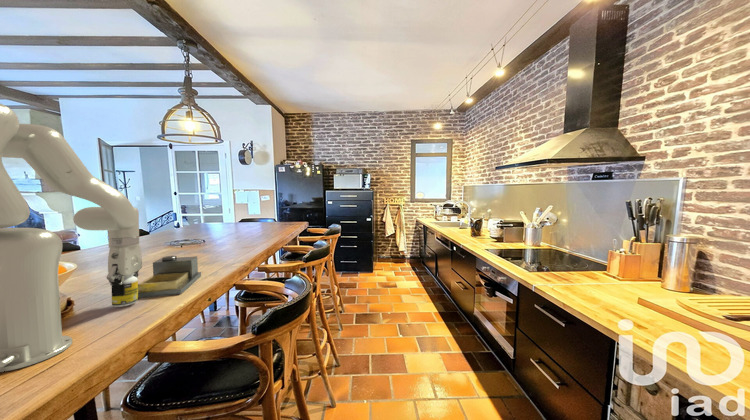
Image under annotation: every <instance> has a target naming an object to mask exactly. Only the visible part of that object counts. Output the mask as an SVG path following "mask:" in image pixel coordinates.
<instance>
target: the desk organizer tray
mask: <svg viewBox="0 0 750 420" xmlns="http://www.w3.org/2000/svg"><path fill="white" fill-rule="evenodd" d="M152 272H153V274H152V276H150V277H148V278H147V279H145V280H143V281H142V282H140V283H138V299H146V298H155V297H166V296H167V297H169V296H177V295H178V296H179V295H182V294H183V293H184V292H186V290H188V289H189V288H190V287H191V286H192V285H193V284H194V283H195V282H197V281H198V280H199V279H200V278H202V272H201V271H199V266H198V256H184V257H181V256H180V257H178V256H177V255H168V256H163V257H160V259H157V260H155V261H153V262H152Z"/></svg>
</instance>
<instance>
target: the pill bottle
mask: <svg viewBox="0 0 750 420" xmlns="http://www.w3.org/2000/svg"><path fill="white" fill-rule="evenodd" d="M117 275H121V274H117ZM133 275H134V273H132V274H130V275H128V276H125V277H124V281H123V284H125V295H123V296H114V297H113V296H112V295H111V306H113V307H114V308H120V307H121V308H122V307H127V306H131V305H133V304H136V303H137V302H138V301H139V298H138V284H139V280H138V279H139V277H138V278H137V277H135V276H133ZM116 278H118V279H119V280H120V277H116Z"/></svg>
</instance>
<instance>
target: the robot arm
mask: <svg viewBox="0 0 750 420" xmlns="http://www.w3.org/2000/svg"><path fill="white" fill-rule="evenodd" d="M3 158H13V159H23V160H24V161H25V162H26V163H27V164H28V165H29V166H30V168H31V169H32V170H34V172H35V173H36V174H37V175H38V176H39V177H40V178H41V179H42V180H43V182H44V183H45V184H46V185H47V187H49V188H50V189H52V190H54V191H56V192H59V193H62V194H65V195H69V196H72V197H76V198H79V199H83V200H86V201H89V202H91V203H93V204H94V205H95V204H96V205H97V206H90V207H84V208H82V209H79V210H78V211H76V212H75V214H74V215H73V218H72V219H73V221H72V222H73V223H74V224H75V226H76V227H77V228H80V229H83V230H85V231H107V232H108V233H107V237H108V248H109V250H108V259H107V272H108V273H107V275H106V279H107V280H108V282H109V283H110V286H111V297H112V296H113V297H114V296H123V295H125V284H123V281H124V277H125V276H128V275H130V274H132V273H134V275H133V276H135V277H137V278H138V279H139V271H140V270H142V268H143V260H142V259H143V258H142V250H141V247H140V246H141V245H140V219H139V218H140V216H139V215H140V213H139V209H138V208H137V207H135V206H133V205H132V203H131V201H130V200H129V199H128V197H127V196H125V194H123V193H122V192H121V191H119V190H118V189H116V188H115V187H113V186H112V185H109V184H108V183H106V182H105V181H103V180H101V179H99V178H97V177H95V176H94V175H93V174H92V173H91V172H90V171H89V169H88V168H87V167H86V166H85V165H86V164H84V162H83V161H82V160H81V159H80V157H79V156H78V155H77V153H76V152H75V151H74V149H73V148H72V147H71V145H70V144H69V143H68V141H67V140H66V139H65V137H64V136H63V135H62V134H61V133H60V132H59V131H58V130H56V129H54V128H53V127H49V126H46V125H41V124H33V123H20V120H19V117H18V115H17V114H16V113H15V111H14V110H13V109H11V108H10V107H8V106H6V105H5V104H3V103H0V373H4V371H5V372H9V371H14V370H18V369H22V368H25V367H29V366H31V365H34V364H38V363H40V362H43V361H46V360H48V359H50V358H52V357H55V356H56V355H59V354H61V353H62V352H64V351H66V350H67V349H68V348H69V347H70V346H71V345H72V344H73V338H72V336H69V335H63V329H62V328H63V327H62V314H61V313H62V312H61V298H60V297H61V296H60V286H59V267H60V260H61V257H62V253H63V241H62V239H61V237H60V236H59V235H58V234H56V233H54V232H53V231H51V230H47V229H43V228H37V227H16V226H18V225H21V224H22V223H24V222H26V221H27V220H28V218H29V217H30V216H31V215H30V214H31V210H30V207H29V205H28V203H27V201H26V199H25V197H24V196H23V195H22V193H21V191H19V189H18V187H17V186H16V184H15V183H14V181H13V179H12V177H11V176H10V175H9V173H8V171H7V170H6V167H5V166H4V163H3V161H2V160H3ZM117 274H121V275H117ZM117 277H120V280H119V279H118V278H117Z"/></svg>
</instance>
